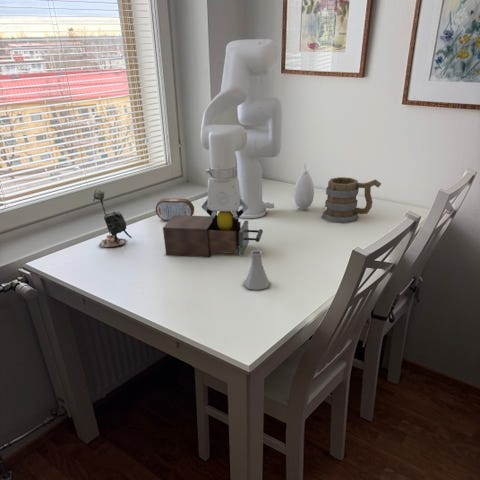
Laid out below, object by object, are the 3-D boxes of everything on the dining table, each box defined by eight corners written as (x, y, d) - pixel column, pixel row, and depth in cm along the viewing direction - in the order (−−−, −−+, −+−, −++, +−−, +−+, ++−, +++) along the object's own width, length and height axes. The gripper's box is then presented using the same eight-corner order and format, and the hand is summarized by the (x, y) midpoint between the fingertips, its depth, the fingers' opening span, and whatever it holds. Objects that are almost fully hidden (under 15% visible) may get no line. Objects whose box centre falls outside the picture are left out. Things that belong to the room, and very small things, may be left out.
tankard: (320, 220, 177) (322, 181, 169) (327, 210, 187) (330, 172, 179) (373, 226, 170) (378, 185, 162) (378, 215, 180) (383, 176, 172)
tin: (195, 218, 183) (193, 197, 179) (193, 221, 180) (191, 200, 176) (158, 218, 185) (155, 197, 180) (156, 221, 182) (153, 200, 178)
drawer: (263, 243, 157) (263, 221, 153) (259, 256, 148) (258, 232, 144) (210, 241, 160) (208, 219, 156) (202, 253, 151) (200, 230, 147)
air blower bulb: (315, 207, 191) (318, 162, 181) (309, 213, 185) (311, 166, 175) (297, 205, 194) (298, 160, 184) (291, 211, 188) (292, 165, 178)
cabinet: (217, 243, 161) (215, 216, 156) (209, 257, 151) (207, 229, 146) (176, 241, 163) (174, 215, 158) (166, 255, 153) (162, 227, 148)
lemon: (236, 229, 153) (235, 206, 149) (231, 235, 148) (229, 211, 144) (221, 228, 155) (219, 205, 150) (215, 234, 150) (213, 210, 146)
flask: (243, 280, 136) (242, 248, 130) (267, 278, 136) (267, 246, 131) (245, 291, 129) (244, 258, 124) (271, 289, 130) (271, 256, 125)
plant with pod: (125, 249, 158) (116, 191, 148) (95, 247, 161) (83, 190, 150) (135, 240, 165) (126, 184, 155) (106, 238, 167) (95, 183, 157)
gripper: (192, 175, 140) (197, 232, 149) (248, 176, 137) (250, 234, 146) (199, 169, 146) (203, 224, 156) (252, 170, 143) (253, 226, 153)
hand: (225, 228), depth 151 cm, fingers closed on lemon, 5 cm apart
